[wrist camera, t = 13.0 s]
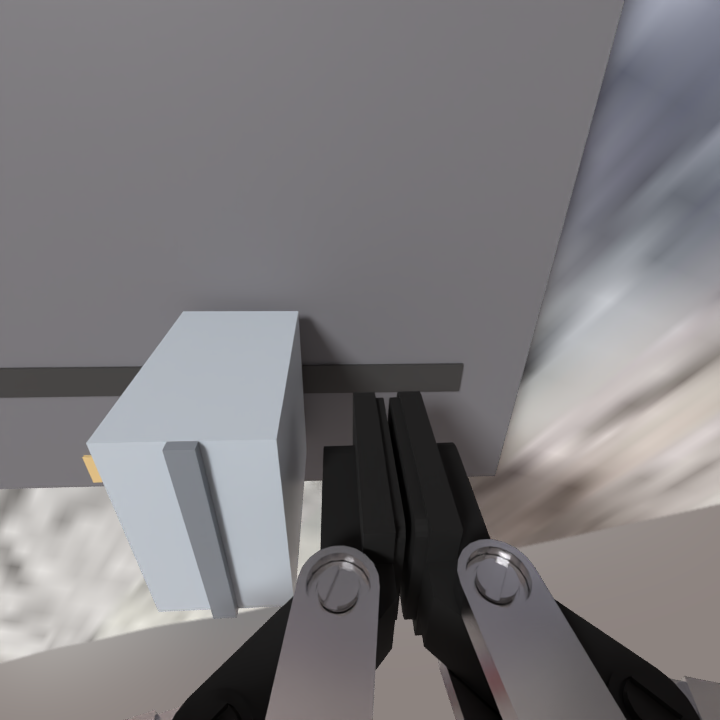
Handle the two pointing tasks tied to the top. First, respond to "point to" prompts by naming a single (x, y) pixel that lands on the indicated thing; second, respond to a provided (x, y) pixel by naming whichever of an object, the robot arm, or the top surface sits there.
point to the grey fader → (212, 462)
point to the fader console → (284, 200)
